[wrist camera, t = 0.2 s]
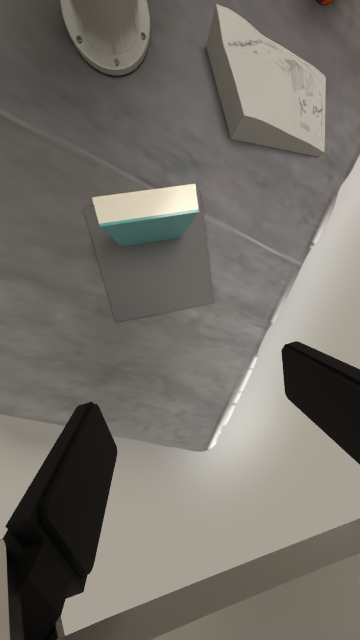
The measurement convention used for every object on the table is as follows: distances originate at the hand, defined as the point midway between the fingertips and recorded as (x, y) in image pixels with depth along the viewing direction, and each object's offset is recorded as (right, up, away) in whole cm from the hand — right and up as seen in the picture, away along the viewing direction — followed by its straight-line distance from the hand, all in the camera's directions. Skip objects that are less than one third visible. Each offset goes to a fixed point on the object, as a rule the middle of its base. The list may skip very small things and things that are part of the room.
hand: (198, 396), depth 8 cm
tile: (-7, +21, +25) cm, 33 cm away
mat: (-6, +16, +27) cm, 32 cm away
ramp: (+15, +43, +24) cm, 52 cm away
